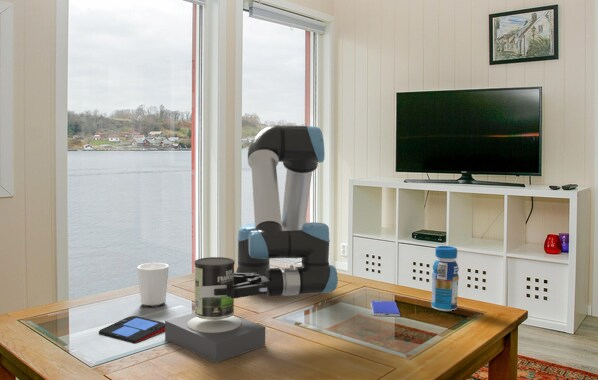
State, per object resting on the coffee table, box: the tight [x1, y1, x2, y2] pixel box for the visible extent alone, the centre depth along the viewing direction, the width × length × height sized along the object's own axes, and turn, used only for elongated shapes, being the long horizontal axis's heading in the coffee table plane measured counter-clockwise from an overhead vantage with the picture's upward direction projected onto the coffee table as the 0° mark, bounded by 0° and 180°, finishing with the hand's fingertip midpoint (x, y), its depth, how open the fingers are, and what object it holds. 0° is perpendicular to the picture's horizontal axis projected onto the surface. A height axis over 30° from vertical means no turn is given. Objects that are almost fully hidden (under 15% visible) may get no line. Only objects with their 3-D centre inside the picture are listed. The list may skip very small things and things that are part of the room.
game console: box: [98, 315, 165, 344], centre depth 145 cm, size 14×13×2 cm
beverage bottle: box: [430, 245, 460, 312], centre depth 170 cm, size 8×8×20 cm
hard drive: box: [370, 300, 401, 317], centre depth 168 cm, size 2×8×12 cm
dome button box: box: [164, 312, 266, 364], centre depth 138 cm, size 22×16×6 cm
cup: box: [136, 262, 170, 308], centre depth 169 cm, size 10×10×13 cm
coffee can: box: [194, 256, 235, 320], centre depth 137 cm, size 10×10×14 cm
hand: (198, 286), depth 136 cm, fingers closed on coffee can, 10 cm apart
